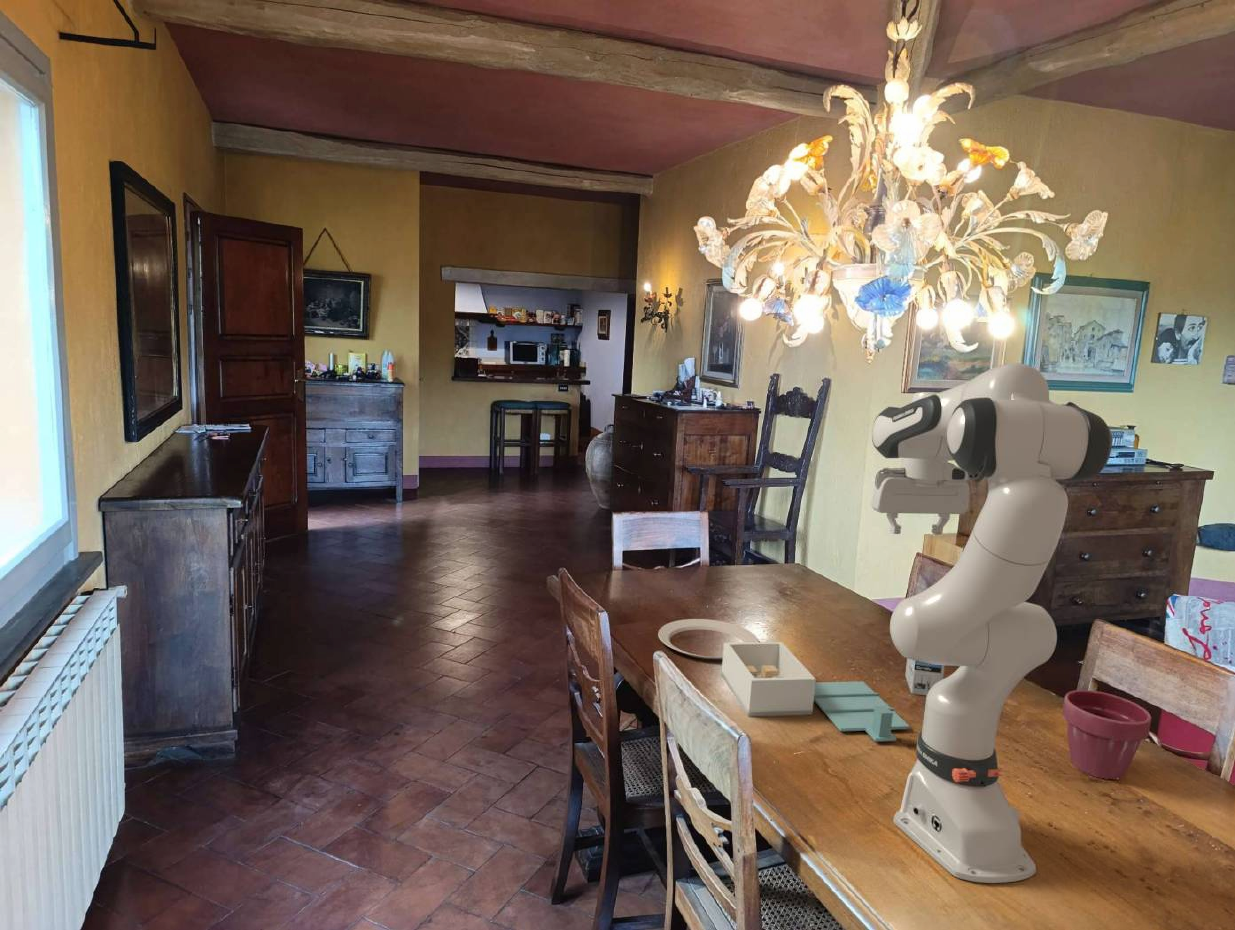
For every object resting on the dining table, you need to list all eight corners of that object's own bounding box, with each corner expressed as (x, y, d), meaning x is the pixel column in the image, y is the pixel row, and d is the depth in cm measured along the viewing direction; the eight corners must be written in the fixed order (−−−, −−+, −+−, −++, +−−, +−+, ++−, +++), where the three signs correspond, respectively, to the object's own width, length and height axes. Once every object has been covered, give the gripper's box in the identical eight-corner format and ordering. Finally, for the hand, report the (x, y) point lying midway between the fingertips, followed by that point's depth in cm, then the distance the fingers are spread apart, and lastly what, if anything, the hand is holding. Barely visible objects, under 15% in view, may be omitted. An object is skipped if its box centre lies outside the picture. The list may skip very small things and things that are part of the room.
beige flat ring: (700, 619, 225) (701, 612, 225) (778, 647, 208) (778, 640, 207) (637, 640, 208) (637, 633, 207) (716, 674, 190) (716, 666, 189)
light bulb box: (941, 698, 183) (947, 653, 181) (910, 694, 184) (915, 649, 182) (933, 679, 193) (938, 636, 191) (903, 675, 194) (909, 632, 193)
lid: (920, 744, 162) (923, 713, 161) (849, 746, 160) (853, 715, 159) (862, 687, 187) (865, 660, 186) (800, 689, 184) (803, 662, 183)
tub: (812, 714, 172) (815, 679, 170) (748, 716, 169) (751, 680, 168) (778, 674, 191) (781, 641, 190) (721, 675, 189) (723, 642, 187)
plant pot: (1113, 750, 163) (1123, 691, 161) (1157, 790, 149) (1169, 725, 147) (1041, 746, 163) (1051, 686, 161) (1079, 785, 150) (1089, 720, 147)
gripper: (884, 470, 163) (876, 537, 165) (977, 472, 166) (968, 538, 169) (869, 464, 169) (862, 529, 172) (959, 467, 173) (951, 530, 175)
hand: (916, 533), depth 170 cm, fingers open, 8 cm apart
